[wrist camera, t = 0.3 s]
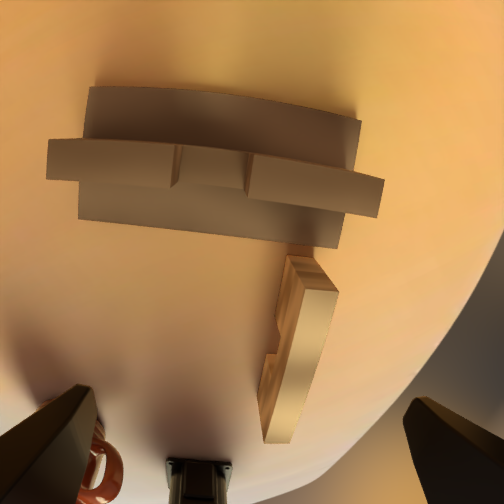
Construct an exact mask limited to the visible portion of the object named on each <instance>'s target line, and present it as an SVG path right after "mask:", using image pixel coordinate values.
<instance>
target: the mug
mask: <svg viewBox="0 0 504 504" xmlns="http://www.w3.org/2000/svg"><path fill="white" fill-rule="evenodd" d="M53 400H54V399H51V400H47V401H45V402H43V403H42V404H41V406H39V407H38V408H37V410H36V412H37V411H38V410H39V409H41V408H42V407H44V406H45V405H47V404H48V403H50V402H51V401H53ZM34 413H35V412H34ZM34 413H33V414H34ZM104 455H106V468H105V473H104V477H103V480H102V482H101V484H100V485H99V486H98V487H97V488H95V489H93V487H94V483H95V480H96V478H97V475H98V471H99V468H100V464H101V461H102V458H103V456H104ZM122 482H123V462H122V458H121V456H120V454H119V452H118V451H117V450H116V448H115V447H113V446H112V445H111V444H110V443H109V442H107V441H105V431H104V429H103V427H102V425H101V424H100V423H99V421H98V420H97V419H96V422H95V427H94V432H93V437H92V442H91V447H90V453H89V458H88V463H87V466H86V470H85V473H84V476H83V480H82V483H81V486H80V490H79V493H78V497H77V500H76V504H106V503H109V502H111V501H112V500H114V499H115V498H116V497H117V495H118V494H119V492H120V489H121V486H122Z"/></svg>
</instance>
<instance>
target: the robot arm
mask: <svg viewBox="0 0 504 504" xmlns="http://www.w3.org/2000/svg"><path fill="white" fill-rule="evenodd" d="M96 418H97V406H96V402H95V397H94V392H93V389H92V387H90V386H87V385H82V384H76V385H74V386H73V387H72V388H70V389H69V390H67V391H66V392H64V393H63V394H61V395H60V396H58V397H57V398H56V399H54V400H53V401H51V402H50V403H48V404H47V405H45V406H44V407H42V408H41V409H39V410H38V411H37V412H35V413H34V414H32V415H31V416H29V417H28V418H26V419H25V420H23V421H22V422H20V423H19V424H17V425H16V426H14V427H13V428H12V429H10V430H9V431H7V432H6V433H4V434H3V435H1V436H0V504H76V500H77V497H78V493H79V490H80V486H81V483H82V480H83V476H84V473H85V470H86V466H87V463H88V458H89V453H90V447H91V442H92V437H93V432H94V427H95V422H96ZM403 426H404V430H405V433H406V437H407V440H408V444H409V448H410V452H411V456H412V460H413V463H414V466H415V469H416V471H417V474H418V477H419V480H420V483H421V485H422V488H423V491H424V494H425V497H426V500H427V503H428V504H504V440H503V439H502V438H500V437H498V436H496V435H494V434H492V433H491V432H488V431H487V430H485V429H483V428H481V427H480V426H478V425H476V424H474V423H472V422H471V421H469V420H467V419H465V418H464V417H462V416H460V415H458V414H456V413H455V412H453V411H451V410H449V409H447V408H446V407H444V406H442V405H441V404H439V403H437V402H435V401H434V400H432V399H430V398H429V397H427V396H422V397H416V398H414V399H413V400H412V401H411V403H410V405H409V407H408V409H407V411H406V413H405V414H404V416H403ZM166 468H167V481H168V488H169V489H170V493H169V504H227V490H228V486H229V482H230V477H231V473H232V464H231V463H223V462H207V461H195V460H184V459H175V458H168V459H167V460H166Z"/></svg>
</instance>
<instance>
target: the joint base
mask: <svg viewBox="0 0 504 504" xmlns="http://www.w3.org/2000/svg"><path fill="white" fill-rule="evenodd" d="M361 122H362V121H361V120H357V119H353V118H349V117H345V116H342V115H338V114H333V113H329V112H325V111H321V110H316V109H312V108H307V107H302V106H297V105H292V104H287V103H282V102H276V101H270V100H265V99H258V98H252V97H245V96H238V95H231V94H223V93H214V92H205V91H195V90H183V89H169V88H151V87H90V89H89V95H88V101H87V108H86V115H85V123H84V131H83V138H77V139H49V141H48V154H47V170H46V179H48V180H67V181H79V203H78V219H81V220H91V221H100V222H110V223H119V224H128V225H138V226H147V227H156V228H165V229H174V230H183V231H191V232H200V233H209V234H217V235H226V236H234V237H243V238H251V239H259V240H268V241H276V242H284V243H292V244H300V245H308V246H316V247H324V248H332V249H337V248H338V244H339V239H340V235H341V230H342V226H343V221H344V216H345V213H350V214H355V215H361V216H367V217H372V218H377V215H378V210H379V206H380V201H381V196H382V192H383V187H384V181H385V180H384V179H381V178H377V177H373V176H370V175H366V174H362V173H358V172H355V171H353V170H354V165H355V159H356V153H357V148H358V142H359V135H360V129H361Z"/></svg>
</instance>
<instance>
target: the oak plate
mask: <svg viewBox="0 0 504 504" xmlns="http://www.w3.org/2000/svg"><path fill="white" fill-rule="evenodd" d="M338 294H339V291H338V290H337V288H336V287H335V286H334V284H333V283H332V281H331V280H330V279H329V277H328V276H327V275H326V273H325V272H324V271H323V269H322V268H321V267H320V265H319V264H318V263H317V261H316V260H315V259H314V258H310V257H301V256H293V255H287V256H286V261H285V266H284V272H283V277H282V282H281V287H280V292H279V297H278V302H277V306H276V311H275V319H276V323H277V326H278V330H279V333H280V336H281V338H280V342H279V347H278V351H277V354H266V358H265V363H264V367H263V372H262V376H261V381H260V385H259V389H258V394H257V400H258V407H259V414H260V421H261V427H262V434H263V441H264V444H288V443H290V440H291V438H292V435H293V433H294V430H295V427H296V425H297V422H298V419H299V417H300V414H301V411H302V408H303V406H304V403H305V400H306V397H307V394H308V392H309V389H310V386H311V383H312V380H313V377H314V374H315V371H316V368H317V365H318V362H319V359H320V355H321V352H322V349H323V346H324V343H325V339H326V336H327V333H328V329H329V326H330V323H331V319H332V316H333V312H334V309H335V305H336V302H337V298H338Z"/></svg>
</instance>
